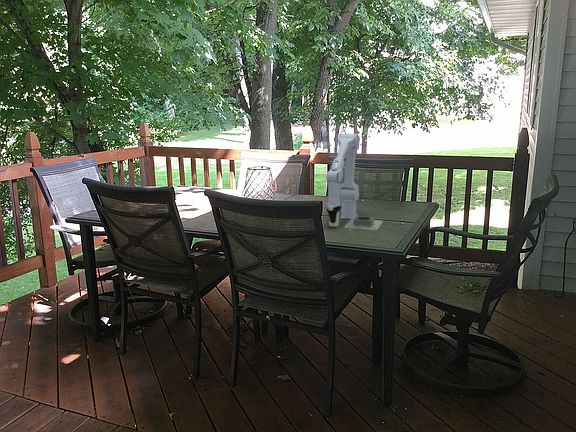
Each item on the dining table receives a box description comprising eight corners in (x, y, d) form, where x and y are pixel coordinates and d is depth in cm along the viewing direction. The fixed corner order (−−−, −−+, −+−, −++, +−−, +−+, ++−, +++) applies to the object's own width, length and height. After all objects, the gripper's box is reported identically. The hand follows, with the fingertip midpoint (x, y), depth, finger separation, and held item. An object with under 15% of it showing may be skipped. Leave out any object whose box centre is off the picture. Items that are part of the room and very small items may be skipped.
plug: (331, 224, 255) (331, 210, 253) (338, 224, 254) (338, 211, 252) (329, 226, 251) (329, 212, 250) (337, 226, 250) (337, 212, 248)
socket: (351, 220, 262) (351, 214, 262) (382, 222, 257) (382, 215, 257) (344, 228, 248) (344, 221, 247) (377, 230, 243) (377, 223, 242)
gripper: (329, 191, 257) (329, 217, 260) (322, 197, 243) (322, 224, 247) (343, 192, 255) (343, 218, 258) (336, 197, 241) (336, 225, 244)
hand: (334, 221), depth 252 cm, fingers closed on plug, 4 cm apart
